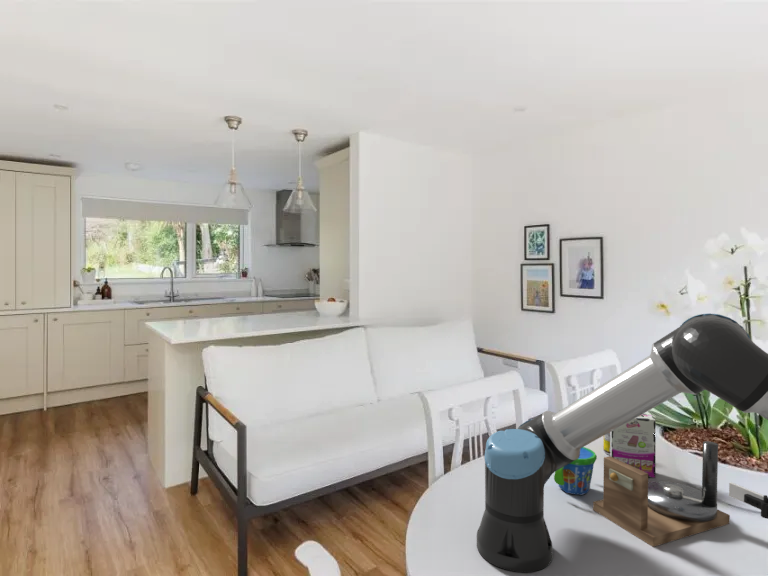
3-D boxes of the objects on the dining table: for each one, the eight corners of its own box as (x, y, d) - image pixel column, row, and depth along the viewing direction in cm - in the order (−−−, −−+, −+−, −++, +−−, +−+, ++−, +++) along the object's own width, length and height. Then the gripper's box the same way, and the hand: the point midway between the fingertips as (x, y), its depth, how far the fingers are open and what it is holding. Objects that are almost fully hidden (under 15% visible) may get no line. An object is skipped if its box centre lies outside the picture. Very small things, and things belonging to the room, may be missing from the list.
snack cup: (573, 474, 130) (574, 439, 130) (609, 489, 122) (609, 451, 121) (537, 489, 122) (538, 451, 121) (573, 506, 113) (573, 465, 113)
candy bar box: (652, 471, 132) (653, 414, 132) (655, 478, 127) (656, 420, 127) (609, 465, 136) (609, 410, 135) (611, 472, 131) (611, 415, 131)
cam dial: (635, 506, 108) (636, 439, 107) (648, 483, 119) (649, 422, 119) (714, 529, 98) (715, 455, 98) (719, 501, 110) (721, 435, 109)
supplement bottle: (613, 449, 149) (613, 417, 148) (627, 455, 143) (627, 423, 143) (599, 451, 147) (599, 419, 146) (612, 457, 142) (613, 425, 141)
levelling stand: (647, 548, 96) (648, 482, 95) (588, 511, 110) (588, 453, 110) (729, 523, 105) (730, 463, 104) (664, 492, 120) (665, 439, 119)
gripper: (848, 578, 73) (711, 512, 92) (929, 544, 81) (787, 490, 101) (850, 532, 72) (712, 475, 92) (931, 503, 81) (789, 457, 101)
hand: (751, 483), depth 97 cm, fingers open, 13 cm apart
